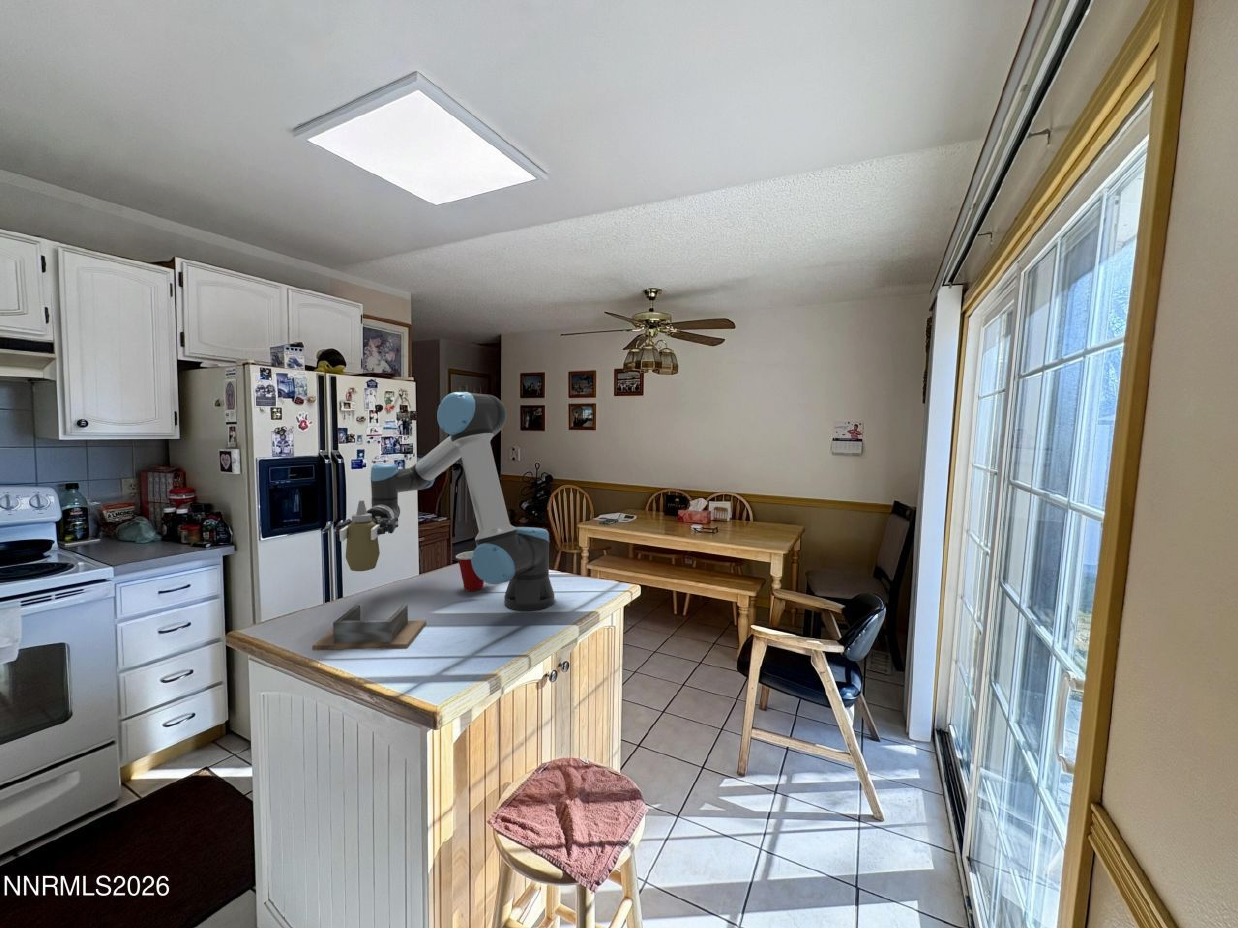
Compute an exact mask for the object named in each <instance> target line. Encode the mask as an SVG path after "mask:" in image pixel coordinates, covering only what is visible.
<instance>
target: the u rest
mask: <svg viewBox="0 0 1238 928" xmlns="http://www.w3.org/2000/svg"><path fill="white" fill-rule="evenodd" d="M408 605H409V604H402V605H401V606H400V607H399V608H398V609H397V610H396V611H395V612H393V614H391V616H390V617H389V618H388V619H383V620H382V619H380V620H379V619H378V620H377V619H376V620H375V619H374V620H373V619H371V620H369V619H368V620H361V618H362V617H361V604H360V605H359V604H355V605H353V606H352V607H351V608H350V609H349V610H348V611H346V612H345V613H344V614H342V615H341V616H340V617H339V618H337V619H335V621H333V622H332V629H331V630H330V631H328V632H327V633H326V634H325V635H323V636H322V637H321V638H319V639H318V640H317V641H316V642H315V643H313V644H312V646H311V648H312V649H318V650H363V649H364V650H367V649H368V650H369V649H370V650H372V649H373V650H374V649H408V648H409V646H410V645H411V644H412V643H413V642H414V640H416V638H417V636H419V634H420V633H421V632H422V630H423V629H424V628H423V627H426V625H427V620H409V609H408V608H409V607H408ZM312 649H311V650H312Z"/></svg>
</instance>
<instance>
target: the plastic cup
mask: <svg viewBox="0 0 1238 928" xmlns="http://www.w3.org/2000/svg"><path fill="white" fill-rule="evenodd" d="M473 551H474V550H471V551H463V552H460V553H458V554H456V555H455V559H457V562H458V565H459V568H460V569H459V570H460V575H461V578H462V582H463V588H464V591H466V590H467V591H466V592H477V591H476V590H478V591H480V590H482V589H483V587H484V583H485V582H484V581H483V580H482V579H480V578H479V577H478V576H477V575H476V573H475V572H474V570H473V567H472V563H471V557H472V555H473Z"/></svg>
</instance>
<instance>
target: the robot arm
mask: <svg viewBox="0 0 1238 928" xmlns="http://www.w3.org/2000/svg"><path fill="white" fill-rule="evenodd" d="M437 408H438V409H437V415H436V417H437V419H436V420H437V423H438V426H439V428H440V429H441V430H442V431H443V433H446V434H447V435H449V436H448V437H446V438H445V439H444V440H443V441H442V442H440V443H439V444H438V445H436V447H434V448H433V449H432V450H431V451H429V452H428V453H427V454H426V455H424V456H423V457H422V458H421V459H420V460H418V461H417V462H416V463H415V464H413V465H412V466H411V467H408V468H407V467H406V468H398V465H397V464H395V463H376V464H373V465H372V466H371V468H370V478H369V479H370V489H371V491H370V492H371V500H370V501H371V503H370V504H371V508H369V509H368V510H367V513H369V514H372V520H371V521H372V522H374V523H376V526H374V527H373V528H372V529H371V540H375V539H376V538H377V537H378V538H379V536H380V535H385V534H386V533H387V532H388V534H393V533H395V529H397V528H398V527H399V517H400V515H401V508H400V505H399V503H398V502H399V498H398V497H399V493H403V492H412V491H422V490H425V489H429V488H431V487H432V486H433V484H434V482H435V480H436V478H437V477H438V476H439V475H441V474H442V473H443V472H445V471H446V470H447V469H448V468H450V466H452V465H453V464H455V463H456V462H457V461H459V459H461V462H462V465H463V470H464V473H465V474H464V475H465V479H466V483H467V486H468V490H469V495H470V499H471V503H472V507H473V513H474V516H475V520H476V525H477V529H478V533H477V535H476V537H474V541H475V545H476V547H475V549H474V550H472V551H473V555H472V557H471V563H472V567H473V570H474V572H475V573H476V575H477V576H478V577H479V578H480V579H482V580H483V581H484V583H486V584H489V585H499V584H503V583H507V582H508V583H507V584H508V585H507V586H506V587H507V588H506V591H505V594H504V597H503V598H504V599H503V601H504V603H503V604H504V606H505V607H506V608H508V609H510V610H517V611H528V612H529V611H537V610H543V609H546V608H548V607H551V606H552V605H554V603H555V591H554V588H553V585H552V583H551V579H550V533H549V531H548V530H547V529H545V528H541V527H529V526H514V525H512V524H511V522H510V519H509V515H508V511H507V507H506V503H505V499H504V495H503V491H502V486H501V483H500V478H499V474H498V470H497V466H496V462H495V458H494V453H493V450H492V444H491V440H492V439H493V438H494V437H495V436H496V435H497V434H498V433H499V432H500V431H502V429H503V427H504V426H505V424H506V421H507V417H508V414H507V410H506V407H505V405H504V403H503V402H502V401H501V400H500V399H499V398H498V397H496V396H494V395H492V394H485V393H484V394H483V393H476V392H475V393H473V392H468V391H455V392H451V393H449V394H447V395H445V397H443V399H442V400H441V403H440V404H439V405H438V407H437ZM350 523H353V522H352V518H351V519H350V518H348V519H346V520H344V521H343V522H341V523H339V524H337V525H336V528H335V529H336V533H335V534H336V536H339V541H340V542H343V541H346V540H347V536H348V525H349V524H350Z"/></svg>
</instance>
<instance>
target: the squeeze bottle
mask: <svg viewBox="0 0 1238 928" xmlns="http://www.w3.org/2000/svg"><path fill="white" fill-rule="evenodd" d="M367 511H368V510H367V507H366V503H365V500H359V501H358V504H357V509H356V513H355V514H352V515H351V520H352V522H353V523H350V524H349V525H348V536H347V539H346V544H345V545H346V547H345V560H346V562H347V564H348V567H349V568H350V571H353V572H365V571H366V572H367V571H371V570H375V569H376V567H377V564H378V560H379V557H380V554H381V553H380V552H381V551H380V546H379V539H378V538H379V536H378V537H377V538H376V539H375V540H371V529H372V528H373V527H374V526H376V523H374V522H372V521H371V520H372V514H369V513H367Z"/></svg>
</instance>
